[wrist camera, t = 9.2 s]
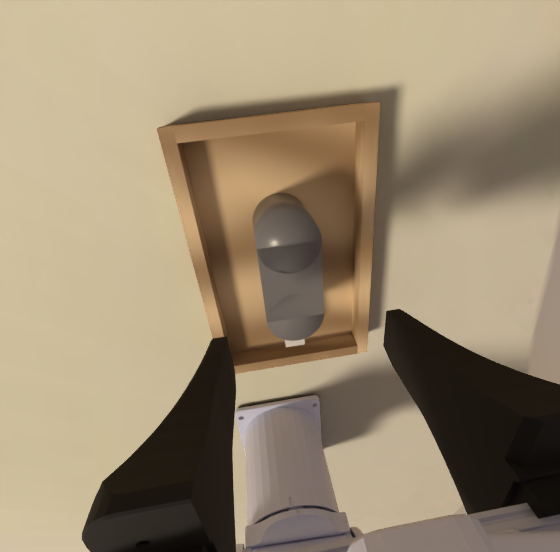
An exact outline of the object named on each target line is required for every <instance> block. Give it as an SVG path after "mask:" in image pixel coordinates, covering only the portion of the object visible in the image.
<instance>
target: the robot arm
mask: <svg viewBox="0 0 560 552" xmlns="http://www.w3.org/2000/svg"><path fill="white" fill-rule="evenodd" d="M384 348H385V350H386V353H387V355H388V357H389V359H390V361H391V363H392V366H393V367H394V369H395V371H396V372H397V374H398V375H399V377H400V379H401V380H402V382H403V384H404V385H405V387H406V388H407V390H408V392H409V393H410V395H411V396H412V398H413V400H414V401H415V403H416V404H417V406H418V408H419V409H420V411H421V413H422V415H423V416H424V418H425V420H426V422H427V424H428V426H429V428H430V430H431V432H432V434H433V436H434V438H435V441H436V443H437V445H438V447H439V449H440V451H441V453H442V456H443V458H444V460H445V462H446V464H447V467H448V469H449V471H450V474H451V476H452V478H453V480H454V483H455V485H456V487H457V490H458V492H459V495H460V497H461V500H462V502H463V505H464V507H465V510H466V512H467V514H468V515H466V514H459V515H448V516H443V517H438V518H433V519H428V520H423V521H418V522H413V523H408V524H403V525H398V526H393V527H389V528H384V529H379V530H376V531H372V532H369V533H366V534H363V533H362V532H361V530H360V529H358V528H357V527H351V528H350V527H349V524H348V520H347V516H346V513H345V512H340V513H339V510H338V506H337V502H336V498H335V494H334V490H333V486H332V482H331V478H330V474H329V470H328V466H327V462H326V459H325V455H324V451H323V447H322V438H321V419H320V401H319V397H318V396H316V395H312V396H306V397H300V398H294V399H288V400H283V401H277V402H271V403H265V404H259V405H254V406H248V407H242V408H238V409H236V410H235V399H236V381H235V368H234V364H233V360H232V356H231V351H230V347H229V343H228V339H227V336H226V337H219V338H213V339H212V340H211V342H210V345H209V347H208V349H207V351H206V353H205V356H204V358H203V360H202V362H201V364H200V365H199V367H198V369H197V371H196V373H195V375H194V376H193V378H192V380H191V381H190V383H189V385H188V386H187V388H186V390H185V391H184V393H183V394H182V396H181V397H180V399H179V400H178V402H177V403H176V405H175V406H174V407H173V409H172V410H171V411H170V413H169V414H168V415H167V416H166V418H165V419H164V420H163V421H162V423H161V424H160V425H159V426H158V428H157V429H156V430H155V431H154V432H153V433H152V434H151V436H150V437H149V438H148V439H147V440H146V441H145V442H144V443H143V444H142V445H141V446H140V447H139V448H138V449H137V450H136V451H135V452H134V453H133V454H132V455H131V456H130V457H129V458H128V459H127V460H126V461H125V462H124V463H123V464H122V465H121V466H119V467H118V468H117V469H116V470H115V471H114V472H113V473H112V474H111V475H110V476H108V477H107V478H106V479H105V480H104V481H103V482H102V484H101V486H100V489H99V491H98V493H97V495H96V497H95V499H94V502H93V504H92V507H91V510H90V512H89V515H88V518H87V521H86V524H85V526H84V529H83V532H82V540H83V542H84V544H85V545H86V547H87V548H88V549H89V551H90V552H560V385H559V384H556V383H552V382H549V381H546V380H543V379H540V378H536V377H533V376H531V375H528V374H525V373H522V372H519V371H516V370H514V369H511V368H509V367H506V366H504V365H501V364H499V363H496V362H494V361H491V360H489V359H487V358H485V357H483V356H480V355H478V354H476V353H474V352H472V351H470V350H468V349H466V348H464V347H462V346H460V345H458V344H457V343H455V342H453V341H451V340H449V339H448V338H446V337H444V336H442V335H441V334H439V333H437V332H436V331H434V330H432V329H431V328H429V327H428V326H426V325H424V324H423V323H421V322H420V321H418V320H417V319H415V318H413V317H412V316H410V315H409V314H407V313H405V312H404V311H402V310H400V309H397V310H390V311H386V323H385V334H384ZM234 414H235V417H236V421H237V425H238V428H239V432H240V436H241V440H242V444H243V447H244V451H245V460H246V497H247V526H246V527H245V543H246V549H244V544H237V545H236V540H235V519H234V495H233V461H232V445H233V428H234Z"/></svg>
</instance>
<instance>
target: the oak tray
mask: <svg viewBox="0 0 560 552" xmlns="http://www.w3.org/2000/svg"><path fill="white" fill-rule="evenodd" d="M379 119H380V102H365V103H356V104H347V105H339V106H330V107H322V108H313V109H304V110H296V111H287V112H279V113H270V114H262V115H253V116H244V117H236V118H227V119H219V120H210V121H201V122H193V123H184V124H176V125H167V126H162V127H159V128H157V131H158V135H159V139H160V142H161V146H162V150H163V153H164V157H165V161H166V165H167V168H168V172H169V176H170V180H171V183H172V187H173V191H174V195H175V198H176V202H177V206H178V210H179V213H180V217H181V221H182V224H183V228H184V232H185V236H186V239H187V243H188V247H189V251H190V254H191V258H192V262H193V266H194V269H195V273H196V277H197V281H198V284H199V288H200V292H201V296H202V299H203V303H204V307H205V310H206V314H207V318H208V322H209V325H210V329H211V333H212V337H213V338H219V337H226V336H227V339H228V343H229V347H230V351H231V356H232V360H233V364H234V368H235V374H236V373H243V372H249V371H255V370H261V369H267V368H273V367H279V366H285V365H291V364H297V363H303V362H309V361H315V360H321V359H327V358H333V357H339V356H345V355H351V354H357V353H363V352H367V344H368V325H369V307H370V288H371V269H372V250H373V232H374V213H375V194H376V176H377V157H378V138H379ZM276 193H286V194H290V195H293V196H295V197H296V198H298V199H299V200H300V201H301V202H302V204H303V205H304V207H305V208H306V210H307V211H308V212H309V214H310V215H311V217H312V218H313V220H314V221H315V223H316V224H317V226H318V228H319V230H320V232H321V236H322V261H323V295H324V319H323V322H322V324H321V326H320V328H319V329H318V330H317V331H316V332H315V333H314V334H312V335H311V336H309V337H307V338H305V339H304V340H305V344H304V345H298V346H291V347H286V345H285V340H283V339H280V338H278V337H276V336H275V335H274V334H273V333H272V332H271V331H270V329H269V328H268V325H267V319H266V312H265V305H264V298H263V291H262V285H261V278H260V271H259V264H258V257H257V250H256V243H255V236H254V229H253V214H254V211H255V209H256V207H257V205H258V204H259V203H260V202H261V201H262V200H263V199H264V198H266V197H267V196H269V195H272V194H276Z"/></svg>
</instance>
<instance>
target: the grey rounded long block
mask: <svg viewBox="0 0 560 552" xmlns="http://www.w3.org/2000/svg"><path fill="white" fill-rule="evenodd" d="M253 229H254V236H255V243H256V250H257V257H258V264H259V271H260V278H261V285H262V291H263V298H264V305H265V312H266V319H267V325H268V328H269V329H270V331H271V332H272V333H273V334H274V335H275V336H276V337H278V338H280V339H283V340H285V345H286V347H291V346H298V345H304V344H305V340H304V339H305V338H307V337H309V336H311V335H312V334H314V333H315V332H316V331H317V330H318V329H319V328H320V326H321V324H322V322H323V319H324V295H323V261H322V236H321V232H320V230H319V228H318V226H317V224H316V223H315V221H314V220H313V218H312V217H311V215H310V214H309V212H308V211H307V210H306V208H305V207H304V205H303V204H302V202H301V201H300V200H299V199H298V198H296V197H295V196H293V195H290V194H286V193H276V194H272V195H269V196H267V197H266V198H264V199H263V200H262V201H261V202H260V203H259V204H258V205H257V207H256V209H255V211H254V214H253Z"/></svg>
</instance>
